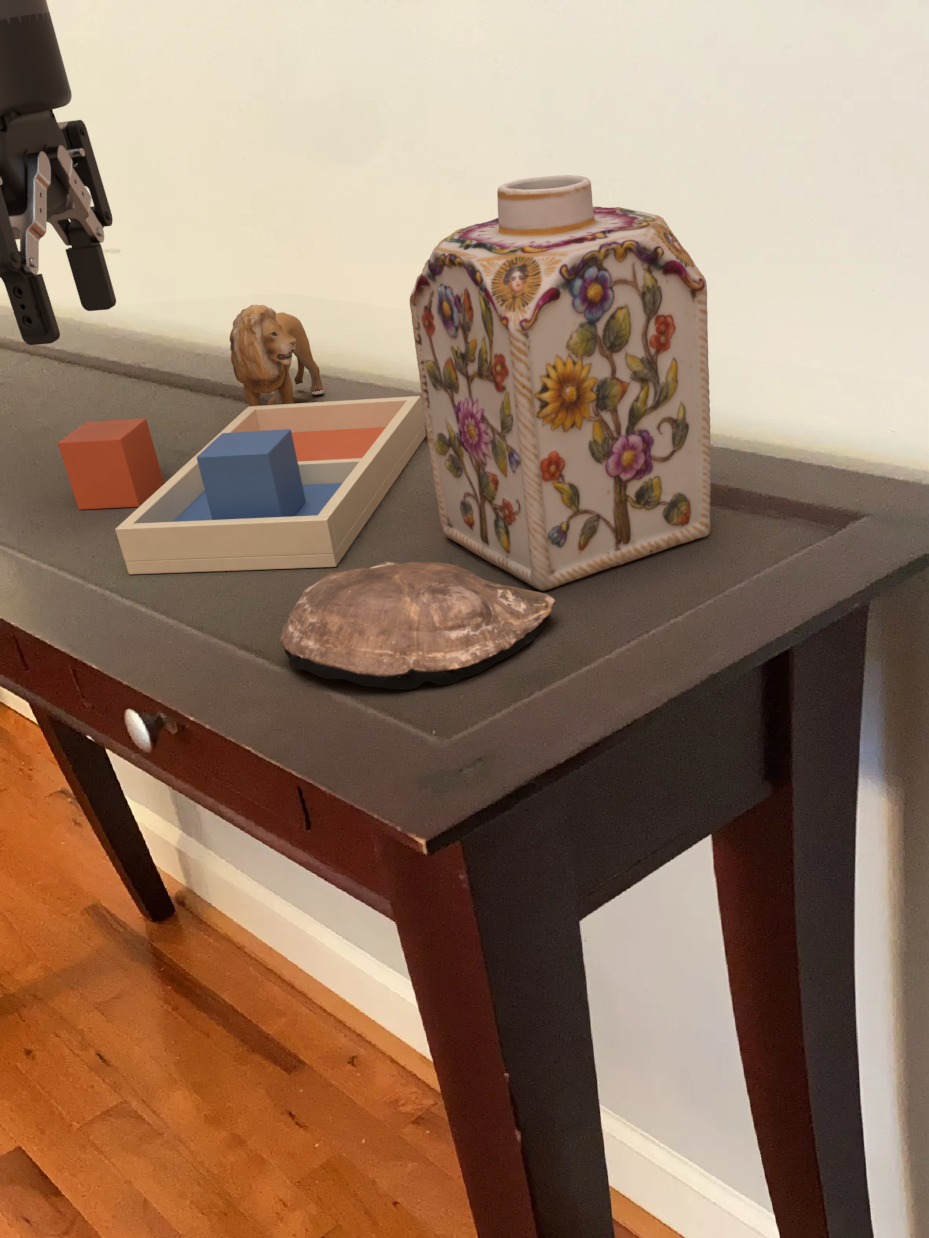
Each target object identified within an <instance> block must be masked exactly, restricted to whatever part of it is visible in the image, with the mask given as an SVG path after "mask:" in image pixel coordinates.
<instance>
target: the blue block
mask: <svg viewBox="0 0 929 1238" xmlns="http://www.w3.org/2000/svg"><path fill="white" fill-rule="evenodd" d="M197 461H198V465H199V469H200V473H201V477H202V481H203V485H204V489H205V493H206V497H207V501H208V504H209V508H210V512H211V516H212V520H225V519H248V518H270V517H293V516H295V515H296V513H297V512H298V511H299V510H300V508H301V507H302V506H303V505H304V503H305V502H306V500H305V495H304V490H303V486H302V481H301V476H300V471H299V466H298V461H297V457H296V452H295V447H294V442H293V437H292V432H291V429H284V430H267V431H250V432H233V433H222V434H221V435H220V436H219V437H218V438H217V439H215V440H214V441H213V442H212V443H211V444H210V445H209V446H208V447H207V448H206V449H205V450H204V451H202V452H201V453H200V454H199V455H198V456H197Z"/></svg>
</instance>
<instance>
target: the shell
mask: <svg viewBox="0 0 929 1238" xmlns="http://www.w3.org/2000/svg"><path fill="white" fill-rule="evenodd" d="M555 603H556V600H555V598H553V596H551V595H549V594H547V593H544V592H541V591H534V590H529V589H524V588H519V587H516V586H509V585H504V584H500V583H496V582H495V581H490V580H486V579H484V578H481V577H480V576H477V575H476V574H475V573H473V572H472V571H469V569H465V568H463V567H461V566H459V564H457V563H455V562H454V563H453V562H452V563H447V562H446V563H445V562H437V561H435V562H434V561H433V562H431V561H410V562H403V563H397V562H395V561H382V562H380V563H377V564H375V565H373V566H371V567H359V568H355V569H348V570H345V571H341V572H340V571H332V572H330V573H328V574H327V575H326V576H324V577H322V578H319V580H318V581H316V582H315V583H314V584H312V585H310V586H308V587H306V588H304V589H303V591H302V592H301V597H300V598H299V599H298V600H297V602H296V603H295V605H294V607H293V609H292V610H291V612H290V614H289V617H288V619H287V621H286V623H285V624H284V626H283V627H282V633H281V635H280V638H279V641H280V643H281V644H282V646H283V651H284V652H285V655H286V656H287V658H288V660H289V662H290V663H291V665H292V666H293V668H294V669H295V670H297V671H299V670H301V671H302V670H305V671H307V672H309V673H311V674H313V675H315V676H318V677H319V678H320V679H328V680H331V679H332V680H338V679H340V680H345V681H348V682H351V683H354V684H357V685H359V686H361V687H367V688H369V687H371V688H378V689H388V690H398V691H399V690H402V691H403V690H404V691H406V690H407V691H411V690H414V689H417V688H419V687H420V686H422V684H423V683H429V682H430V683H432V684H437V685H438V686H447V685H452V684H451V683H453V684H454V683H456V682H457V681H461V680H463V679H465V678H466V677H471V676H473V675H478V674H481V673H482V672H485V671H486V670H487V669H488V668H490V666H492V665H493V664H495V663H497V662H500V661H503V660H505V659H507V658H508V657H511V656H512V655H514V654H515V653H517V652H519V651H520V650H521V649H522V648H524V647H525V645H528V644H530V643H531V642H534V641H535V640H536V637H537V636H538V635H539V634H540V632H541V631H542V629H543V628H544V627H545V625H546V623H547V620H548V617H550V616H551V614H552V612H553V611H552V610H553V607H554V605H555Z"/></svg>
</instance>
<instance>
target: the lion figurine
mask: <svg viewBox="0 0 929 1238" xmlns="http://www.w3.org/2000/svg"><path fill="white" fill-rule="evenodd" d="M229 342H230V346H229V349H230V362H231V364H232V367H233V368H232V369H233V374H234V376H235V378H236V381H238V382H239V383H240V384H242V385H243V391H244V396H245V398H246V400H247V402H248V407H249V406H263V405H262V402H261V401H262V400H261V394H271V393H273V395H272V397H271V398H270V399H269V400H268V401H267V405H281V404H295V401H294V388H293V382H292V379H291V376H290V368H291V364H292V361H293V355H294V356H295V357H296V360H297V371H296V375H295V376H294V383H295V385H296V386H298V385H299V384H303V383H304V381H303V378H304V374H305V369H306V370H307V371H308V373H309V376H310V379H311V380H310V381H311V386H310V388H309V392H310V391H311V392H314V391H315V392H316V391H320V390H323V389H324V390H325V388H324V386H323V382H322V379H321V374H320V368H319V366H318V364H317V363H316V361H315V360H314V357H313V354H312V350H311V345H310V341H309V338H308V336H307V332H306V330H305V328H304V326H303V323H302V322H301V320H300V319H299V318H297V316H295V315H293V314H289V313H286V312H283V311H282V312H281V311H280V312H276V311H275V310H274V309H273V308H271V307H268V306H267V305H265V304H250V306H248V307H246V308H243V309H242V310H241V311H240V313H238V314H237V315H236V317H235V319H234V320H233V322H232V329H231V331H230V334H229ZM311 392H310V393H311Z"/></svg>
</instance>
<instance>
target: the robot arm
mask: <svg viewBox="0 0 929 1238" xmlns="http://www.w3.org/2000/svg"><path fill="white" fill-rule="evenodd" d="M72 96H73V94H72V90H71V86H70V82H69V79H68V75H67V72H66V67H65V64H64V61H63V57H62V53H61V49H60V46H59V41H58V39H57V34H56V31H55V27H54V23H53V20H52V16H51V12H50V9H49V6H48V1H47V0H0V279H1V280H2V282H3V284H4V287H5V290H6V293H7V296H8V299H9V301H10V306H11V308H12V311H13V315H14V318H15V321H16V324H17V326H18V330H19V333H20V336H21V338H22V341H23V342H24V343H25V344H26V345H29V346H37V345H49V344H53V343H55V342H57V341H58V340H59V339H60V337H61V331H60V329H59V324H58V322H57V319H56V315H55V311H54V309H53V305H52V302H51V298H50V295H49V293H48V289H47V285H46V282H45V279H44V276H43V273H39V269H40V267H39V266H40V265H39V264H40V262H39V261H40V259H39V258H40V257H39V256H40V255H39V253H40V252H39V250H40V240H41V239H42V238H44V236H45V235H46V233H47V223H49V224H50V225H51V226H52V227H53V229H54V230H55V232H56V233H57V235H58V237H59V238H60V239H61V241H62V242H63V244H64V245H65V246H67V247H68V248H65V253H66V257H67V261H68V264H69V267H70V272H71V274H72V277H73V281H74V285H75V287H76V288H75V289H76V291H77V295H78V298H79V301H80V305H81V306H82V308H83V309H84V310H85V311H87V312H97V311H107V310H108V311H109V310H110V309H111V308H114V307H115V306H116V304H117V298H116V295H115V294H116V293H115V290H114V287H113V283H112V280H111V276H110V273H109V272H110V271H109V268H108V265H107V262H106V258H105V255H104V251H103V247H102V244H101V243H104V241H105V230H104V228H105V227H111V226H112V225H113V214H112V211H111V207H110V204H109V200H108V198H107V194H106V193H107V192H106V190H105V187H104V183H103V180H102V176H101V173H100V170H99V165H98V162H97V159H96V155H95V153H94V150H93V149H94V148H93V146H92V143H91V140H90V135H89V132H88V129H87V126H86V124H85V122H84V121H83V120H82V119H77V120H67V121H66V120H65V121H59V122H58V120H57V118H56V115H55V113H54V111H53V110H56V109H60V108H64V107H66V106H68V105H69V104H70V103H71V101H72ZM88 190H89V191H88ZM91 204H93V206H92V205H91ZM17 240H19V247H18V243H17ZM70 246H71V247H70Z"/></svg>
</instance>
